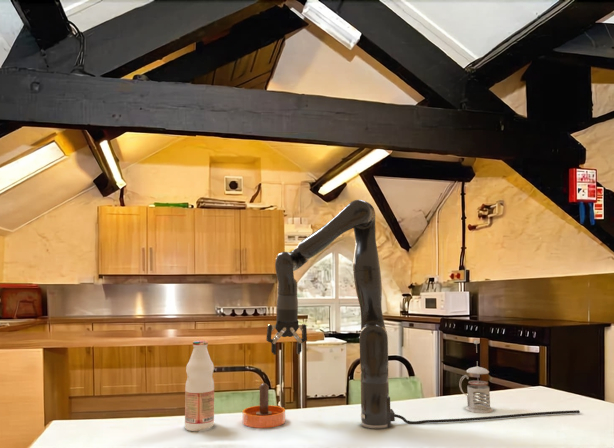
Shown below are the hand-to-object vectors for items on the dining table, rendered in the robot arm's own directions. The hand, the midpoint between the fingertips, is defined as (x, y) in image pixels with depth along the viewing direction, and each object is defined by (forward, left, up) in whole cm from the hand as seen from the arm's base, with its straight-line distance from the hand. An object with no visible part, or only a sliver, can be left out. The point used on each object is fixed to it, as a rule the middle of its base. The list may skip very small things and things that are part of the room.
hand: (286, 354), depth 186 cm
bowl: (+7, +8, -22) cm, 24 cm away
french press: (-70, -8, -22) cm, 73 cm away
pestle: (+7, +8, -21) cm, 24 cm away
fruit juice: (+28, +11, -22) cm, 38 cm away
